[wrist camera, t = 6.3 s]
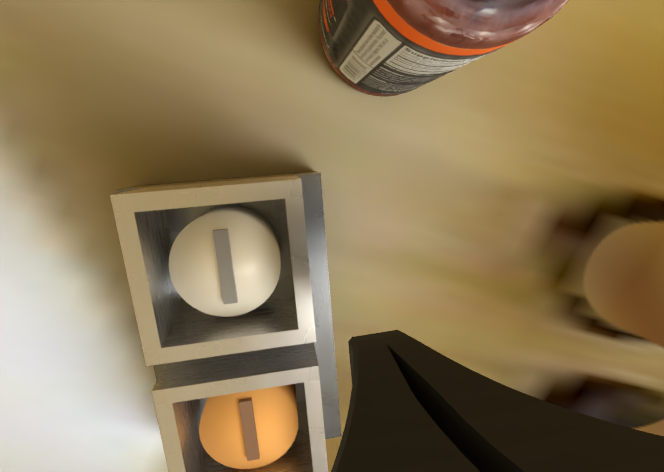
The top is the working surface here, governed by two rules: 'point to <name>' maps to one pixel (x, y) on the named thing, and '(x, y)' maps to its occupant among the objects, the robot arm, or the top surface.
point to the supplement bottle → (419, 37)
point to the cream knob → (226, 261)
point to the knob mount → (234, 331)
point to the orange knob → (250, 426)
